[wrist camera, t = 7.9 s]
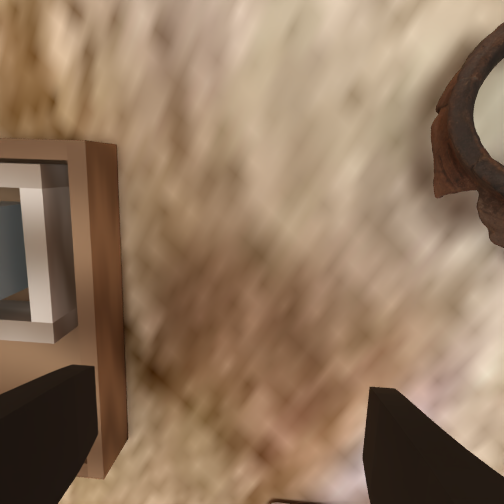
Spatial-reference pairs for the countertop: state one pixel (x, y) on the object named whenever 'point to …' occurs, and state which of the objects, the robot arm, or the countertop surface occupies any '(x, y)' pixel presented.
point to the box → (68, 277)
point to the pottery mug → (469, 139)
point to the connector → (12, 250)
